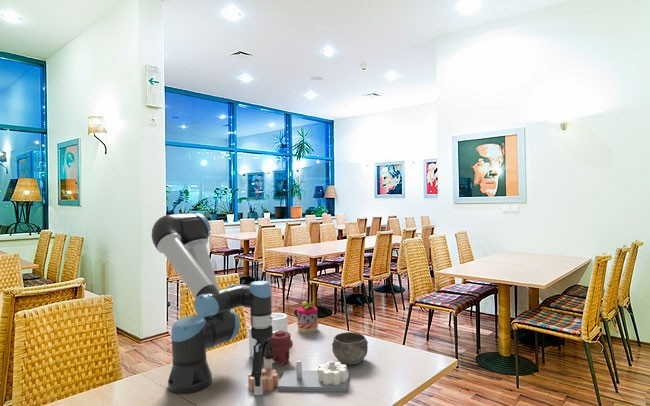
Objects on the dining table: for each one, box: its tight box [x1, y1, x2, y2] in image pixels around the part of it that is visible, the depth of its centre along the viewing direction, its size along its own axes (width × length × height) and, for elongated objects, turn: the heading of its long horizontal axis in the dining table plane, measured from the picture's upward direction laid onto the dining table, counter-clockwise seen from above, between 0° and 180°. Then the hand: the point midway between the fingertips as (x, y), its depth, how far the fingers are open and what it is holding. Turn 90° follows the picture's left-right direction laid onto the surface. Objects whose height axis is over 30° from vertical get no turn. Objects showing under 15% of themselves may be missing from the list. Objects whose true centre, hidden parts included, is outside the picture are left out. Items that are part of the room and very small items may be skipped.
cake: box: [296, 300, 319, 334], centre depth 202 cm, size 10×11×15 cm
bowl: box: [331, 331, 369, 366], centre depth 162 cm, size 14×15×10 cm
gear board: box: [277, 360, 350, 393], centre depth 144 cm, size 24×13×8 cm, turn 84°
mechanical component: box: [270, 331, 294, 367], centre depth 163 cm, size 12×10×10 cm
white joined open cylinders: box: [248, 312, 289, 359], centre depth 180 cm, size 25×10×12 cm, turn 161°
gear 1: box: [247, 368, 279, 392], centre depth 143 cm, size 10×10×4 cm
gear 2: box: [317, 361, 348, 385], centre depth 143 cm, size 10×10×4 cm
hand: (263, 385), depth 143 cm, fingers open, 13 cm apart
